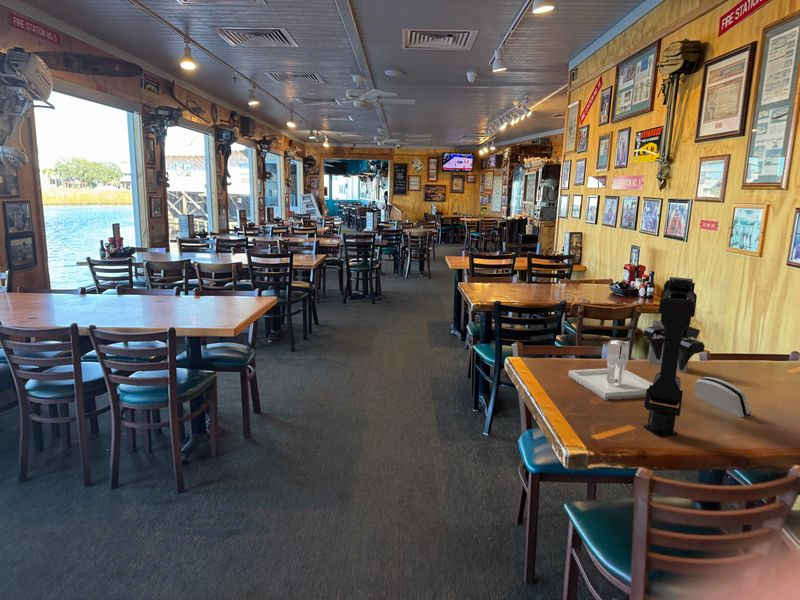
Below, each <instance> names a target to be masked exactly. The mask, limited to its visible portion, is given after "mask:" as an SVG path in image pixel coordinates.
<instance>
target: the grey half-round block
mask: <svg viewBox="0 0 800 600" xmlns="http://www.w3.org/2000/svg"><path fill="white" fill-rule="evenodd" d="M695 397H696V399H698V400H700V401H702V400H703V402H705V403H707V404H709V405H712V406H715V408H719V409H721V410H723V411H725V412H727V411H728V413H730V414H732V415H734V414H735V415H734V416H736V417H739V418H744V417H745V414H746V415H749V416H753V412H752V409H750V408H749V405H748V401H747V397H746V394H745V392H744V391H742V390H741V389H740V388H738V387H736V386H735V385H733V384H731V383H730V382H727V381H725V380H723V379H720V378H716V377H710V376H704V377H700V378H699V379H697V380H696V381H695V382H694V398H695Z"/></svg>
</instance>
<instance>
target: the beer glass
mask: <svg viewBox="0 0 800 600" xmlns="http://www.w3.org/2000/svg"><path fill="white" fill-rule="evenodd" d="M629 357H630V342H628V341H625V340H620V339H610V340H609V341H608V345H607V352H606V365H607V367H606V368H608V373H607V377H606V380H605V383H606V384H608V385H611V386H617V387H620V386H623V385H624V372H625V370H626V368H627V365H628V363H629V362H628V361H629Z"/></svg>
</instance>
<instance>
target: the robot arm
mask: <svg viewBox="0 0 800 600" xmlns="http://www.w3.org/2000/svg"><path fill="white" fill-rule="evenodd" d="M693 281H694V280H693V278H687V277H685V278H684V277H678V276H677V277H673V276H671V277H669V279H667V280H666V281H665V283H664V284H663V290H662V291H661V293H660V300H659V307H658V314H661V315H660V320H661V323H662V325H663V327H664V328H662V327H659V326H652V325H651V326H646V328H645V329H644V330H643V336H645V338H646V340H647V341H648V342H649V346H650V345H651V347H652V349H653V352H654V354H655V357H656V359H657V360H660V358H661V354H662V348H663V343H664V348H663V355H662V363H661V365H660V371H659V373H658V372H657V373H656V374H655V375H654V377H653V380H652V383H653V385H650V387H649V388H648V389H647V391H646V397H644V405H643V408H645V410H646V411H648V418H647V424H643V428H645V429H646V430H648V431H650V433H652V434H654V435H656V436H657V437H669V436H677V435H678V434H679V432H677V431H676V430H674V429H675V424H676V417H678V418H679V417H680V414H681V410H682V408H681V407H682V401H683V393H684V391H683V390H681V383H682V382H681V379H680V377H679V376H678V374H677V372H678V371H677V365H678V363H679V370H683V369H684V367H685V366H686V364H687V362H688V363H689V361H690V359H691V358H692V357H693V356H694V355H695V354H700V353H702V352H703V353H704V352H705V349H706V348H705V347H706V345H705V344H704V342H702V341H700V340H697V339H698V337H699V335H700V332H701V330H700V329H698V328H695V327H692V326H691V321H692V320H691V319H692V318H695V316H696V306H697V297H698V295H697V293H696V292H695V286H696V282H693ZM689 336H690V337H692V338H691V340H684V339H683V338H689ZM651 401H652V402H651ZM676 406H678V407H676Z"/></svg>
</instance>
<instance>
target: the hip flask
mask: <svg viewBox="0 0 800 600" xmlns="http://www.w3.org/2000/svg"><path fill="white" fill-rule="evenodd" d="M652 326H659V327H662V328H664V327H663V325H662V323H661V319H658V318H657V319H652V323H651V327H652ZM683 339H684V340H691V339H693V337H690V336H689V338H683ZM648 347H649V348H648V357H647V362H648V363H651V364H654V365H657V366H661V363H662V355H663V348H664V343H663V348H662V354H661V358H660V360H657V359H656V357H655V354H654V352H653V349H652V347H651V345H650V344H649V346H648ZM688 365H689V361H688V362H687V364H686V366H685V367H684V369H683V370H679V363H678V365H677V372H678V373H685V374H686V373H687V371H688Z"/></svg>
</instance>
